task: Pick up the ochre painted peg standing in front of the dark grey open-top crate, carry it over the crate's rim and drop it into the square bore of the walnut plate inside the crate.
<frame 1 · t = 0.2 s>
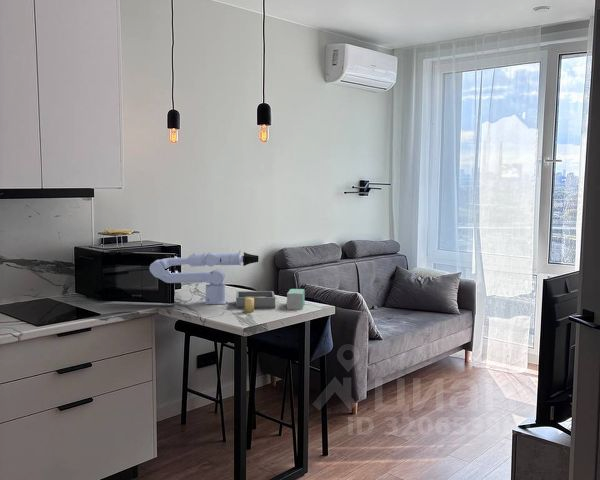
hand: (258, 258, 290), 21 cm above the breakfast bar, tool horizontal, fingers open, 7 cm apart
crate: (255, 304, 288), on the breakfast bar
box: (295, 306, 287), on the breakfast bar
peg: (249, 311, 273), on the breakfast bar
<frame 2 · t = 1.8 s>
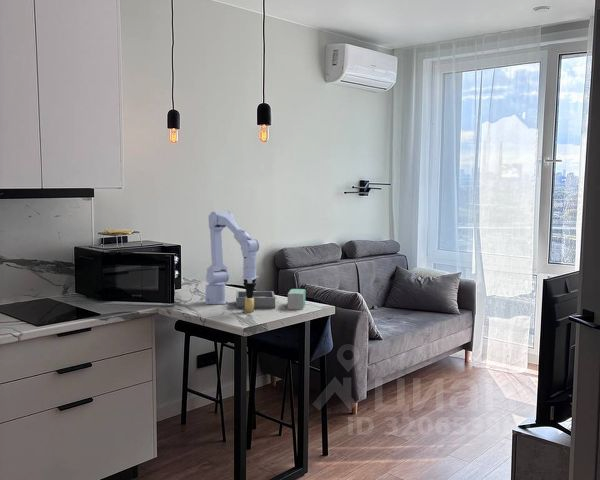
hand: (249, 296, 272), 7 cm above the breakfast bar, tool pointing down, fingers open, 7 cm apart
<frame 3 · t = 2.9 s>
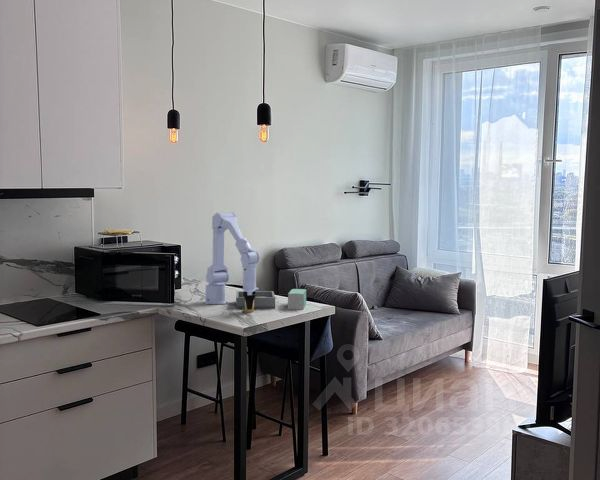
hand: (249, 308, 272), 2 cm above the breakfast bar, tool pointing down, fingers closed on peg, 4 cm apart
peg: (249, 311, 273), on the breakfast bar, touching gripper
everything else where it was.
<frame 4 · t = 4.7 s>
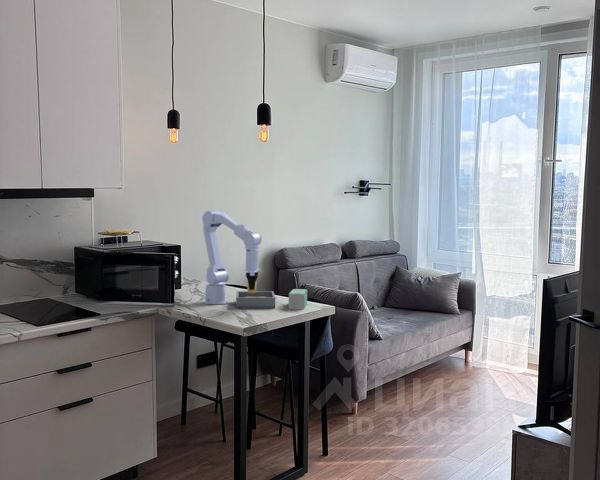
hand: (251, 288, 278), 9 cm above the breakfast bar, tool pointing down, fingers closed on peg, 4 cm apart
peg: (251, 292, 278), point 8 cm above the breakfast bar, touching gripper
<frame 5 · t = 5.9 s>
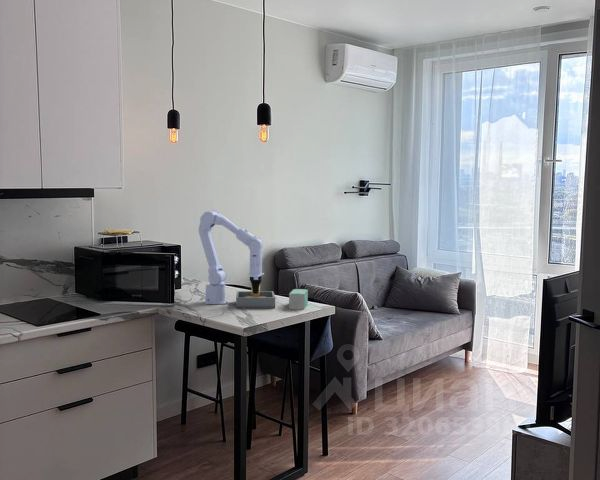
hand: (255, 292, 287), 6 cm above the breakfast bar, tool pointing down, fingers closed on peg, 4 cm apart
peg: (255, 295, 287), point 4 cm above the breakfast bar, touching gripper
when the fingers open (5 cm above the breakfast bar, at t = 6.5 s): peg drops 2 cm, resting on crate.
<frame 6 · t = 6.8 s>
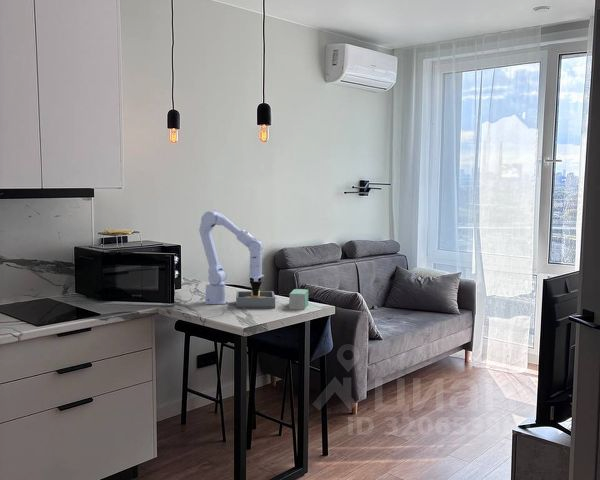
hand: (255, 294, 287), 5 cm above the breakfast bar, tool pointing down, fingers open, 7 cm apart
peg: (255, 302, 288), point 1 cm above the breakfast bar, touching crate
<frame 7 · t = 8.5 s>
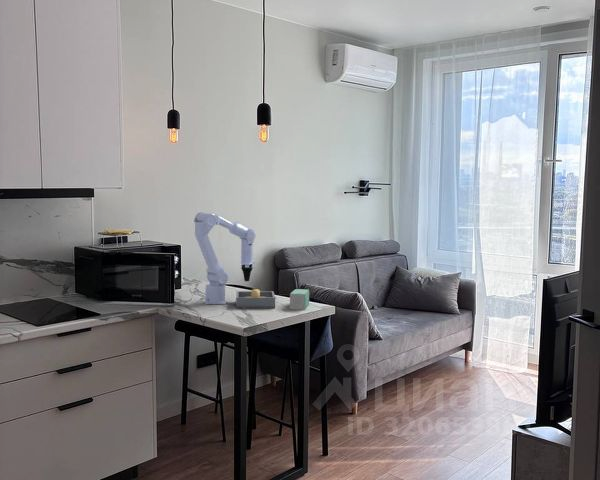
hand: (246, 279, 301), 9 cm above the breakfast bar, tool pointing down, fingers open, 7 cm apart
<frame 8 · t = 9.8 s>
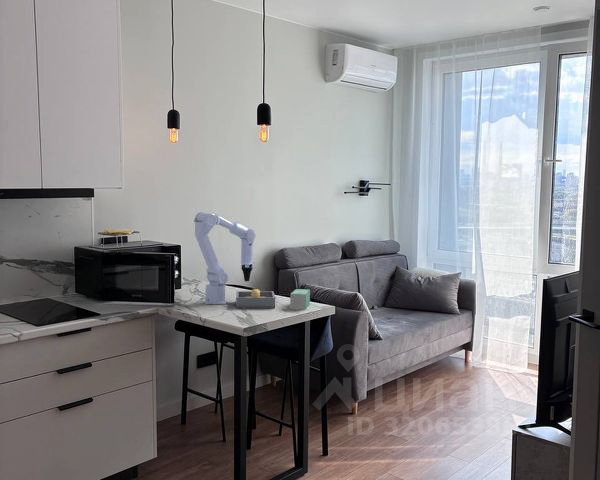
hand: (246, 279, 301), 9 cm above the breakfast bar, tool pointing down, fingers open, 7 cm apart
at the end: peg 0.0 cm off-centre on the crate, point 1.0 cm above the crate's base; peg tilted 0°; the gripper is holding nothing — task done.
